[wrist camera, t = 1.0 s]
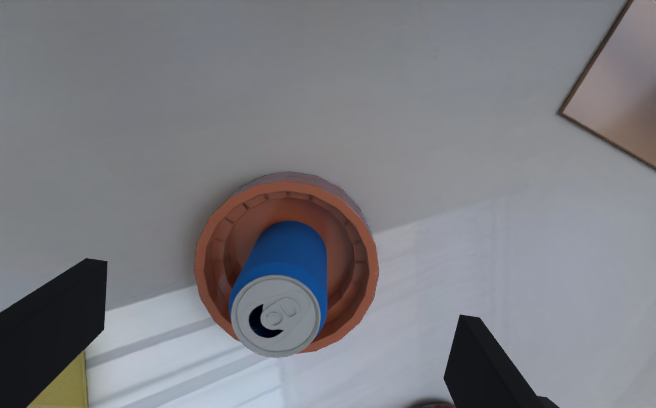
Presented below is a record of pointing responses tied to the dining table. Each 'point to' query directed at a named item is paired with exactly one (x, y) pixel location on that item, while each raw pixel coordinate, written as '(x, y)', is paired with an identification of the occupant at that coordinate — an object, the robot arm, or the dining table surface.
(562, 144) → the dining table surface
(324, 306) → the beverage can
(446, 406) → the stone cylinder
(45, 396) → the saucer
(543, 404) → the robot arm
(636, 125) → the cork mat
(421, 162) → the dining table surface
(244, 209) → the bowl
